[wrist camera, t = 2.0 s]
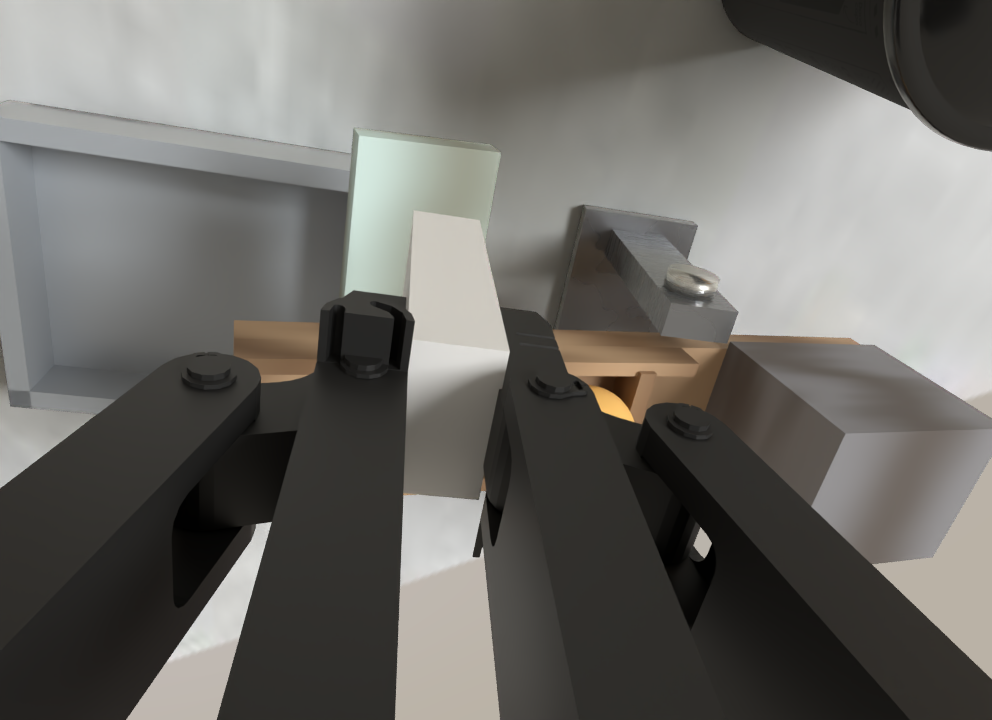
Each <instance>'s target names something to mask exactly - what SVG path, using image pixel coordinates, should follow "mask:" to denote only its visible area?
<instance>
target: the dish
mask: <svg viewBox="0 0 992 720" xmlns="http://www.w3.org/2000/svg"><path fill="white" fill-rule="evenodd" d="M350 165H351V154H349V153H343V152H336V151H330V150H323V149H317V148H311V147H304V146H298V145H292V144H285V143H279V142H273V141H266V140H260V139H254V138H247V137H241V136H234V135H228V134H222V133H215V132H209V131H203V130H196V129H190V128H184V127H177V126H171V125H165V124H158V123H152V122H146V121H139V120H133V119H126V118H120V117H114V116H107V115H101V114H95V113H88V112H82V111H76V110H69V109H63V108H57V107H50V106H44V105H38V104H31V103H25V102H18V101H12V100H8V101H5V102H2V103H0V336H1V343H2V350H3V357H4V364H5V372H6V379H7V386H8V393H9V400H10V406H12V407H23V408H34V409H45V410H56V411H67V412H78V413H89V414H98V413H100V412H101V411H102V410H104V409H105V408H106V407H108V406H109V405H110V404H111V403H113V402H114V401H115V400H117V399H118V398H119V397H121V396H122V395H123V394H125V393H126V392H127V391H128V390H130V389H131V388H132V387H134V386H135V385H136V384H138V383H139V382H140V381H141V380H143V379H144V378H145V377H147V376H148V375H149V374H151V373H152V372H153V371H155V370H156V369H157V368H158V367H160V366H161V365H163V364H165V363H166V362H168V361H170V360H172V359H174V358H177V357H181V356H185V355H190V354H193V353H197V352H205V353H207V352H219V353H221V354H227V355H233V342H234V320H244V321H279V322H313V323H320V311H321V308H322V307H323V306H324V305H325V304H326V303H327V302H330V301H332V300H335V299H337V298H339V290H340V279H341V267H342V256H343V245H344V233H345V222H346V211H347V199H348V188H349V176H350Z"/></svg>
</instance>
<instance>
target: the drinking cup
mask: <svg viewBox="0 0 992 720" xmlns="http://www.w3.org/2000/svg"><path fill="white" fill-rule="evenodd" d="M722 2H723V6H724V9H725V11H726V14H727V16H728V18H729V19H730V21H731V22H732V24H733V25H734V26H735V27H736V28H737V29H738V30H739V31H740V32H741V33H742V34H744V35H745V36H747V37H749V38H751V39H753V40H755V41H757V42H759V43H762V44H764V45H766V46H768V47H771V48H773V49H775V50H777V51H780V52H782V53H784V54H786V55H788V56H791V57H793V58H795V59H797V60H800V61H802V62H804V63H806V64H809V65H811V66H813V67H815V68H818V69H820V70H822V71H824V72H827V73H829V74H831V75H833V76H836V77H838V78H840V79H842V80H845V81H847V82H849V83H851V84H854V85H856V86H858V87H860V88H862V89H865V90H867V91H869V92H871V93H874V94H876V95H878V96H880V97H883V98H885V99H887V100H889V101H892V102H894V103H896V104H898V105H901V106H903V107H905V108H907V109H910V110H911V111H912V112H913V114H914V115H915V116H916V117H917V118H918V119H919V120H920V121H921V122H922V123H923V124H924V125H926V126H927V127H928V128H930V129H931V130H932V131H934V132H935V133H937V134H938V135H940V136H942V137H944V138H946V139H948V140H950V141H953V142H955V143H958V144H960V145H963V146H967V147H971V148H974V149H979V150H985V151H992V0H722Z"/></svg>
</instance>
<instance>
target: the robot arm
mask: <svg viewBox="0 0 992 720" xmlns="http://www.w3.org/2000/svg"><path fill="white" fill-rule="evenodd" d="M483 477H485V485H486V496H485V501H484V505H483V510H482V515H481V519H480V524H479V529H478V533H477V538H476V543H475V547H474V552H473V557H480V553H481V549H482V547H483V549H484V560H485V570H486V580H487V589H488V600H489V609H490V620H491V630H492V639H493V651H494V661H495V671H496V680H497V691H498V701H499V711H500V720H992V679H991V678H990V677H989V676H988V675H987V674H986V673H984V672H983V671H982V670H981V669H980V668H979V667H978V666H977V665H976V664H975V663H974V662H973V661H972V660H971V659H970V658H969V657H968V656H967V655H966V654H965V653H964V652H963V651H961V650H960V649H959V648H958V647H957V646H956V645H955V644H954V643H953V642H952V641H951V640H950V639H949V638H948V637H947V636H946V635H945V634H944V633H943V632H942V631H941V630H940V629H939V628H938V627H937V626H935V625H934V624H933V623H932V622H931V621H930V620H929V619H928V618H927V617H926V616H925V615H924V614H923V613H922V612H921V611H920V610H919V609H918V608H917V607H916V606H915V605H914V604H912V603H911V602H910V601H909V600H908V599H907V598H906V597H905V596H904V595H903V594H902V593H901V592H900V591H899V590H898V589H897V588H896V587H895V586H894V585H893V584H892V583H891V582H890V581H888V580H887V579H886V578H885V577H884V576H883V575H882V574H881V573H880V572H879V571H878V570H877V569H876V568H875V567H874V566H873V565H872V564H871V563H870V562H869V561H868V560H867V559H866V558H864V557H863V556H862V555H861V554H860V553H859V552H858V551H857V550H856V549H855V548H854V547H853V546H852V545H851V544H850V543H849V542H848V541H847V540H846V539H845V538H844V537H843V536H841V535H840V534H839V533H838V532H837V531H836V530H835V529H834V528H833V527H832V526H831V525H830V524H829V523H828V522H827V521H826V520H825V519H824V518H823V517H822V516H821V515H820V514H819V513H817V512H816V511H815V510H814V509H813V508H812V507H811V506H810V505H809V504H808V503H807V502H806V501H805V500H804V499H803V498H802V497H801V496H800V495H799V494H798V493H797V492H796V491H795V490H793V489H792V488H791V487H790V486H789V485H788V484H787V483H786V482H785V481H784V480H783V479H782V478H781V477H780V476H779V475H778V474H777V473H776V472H775V471H774V470H773V469H772V468H770V467H769V466H768V465H767V464H766V463H765V462H764V461H763V460H762V459H761V458H760V457H759V456H758V455H757V454H756V453H755V452H754V451H753V450H752V449H751V448H750V447H749V446H748V445H746V444H745V443H744V442H743V441H742V440H741V439H740V438H739V437H738V436H737V435H736V434H735V433H734V432H733V431H732V430H731V429H730V428H729V427H728V426H727V425H726V424H724V423H723V422H722V421H720V420H719V419H717V418H716V417H715V416H713V415H711V414H709V413H707V412H705V411H703V410H702V409H701V408H699V407H696V406H693V405H691V406H689V404H685V403H668V402H665V403H659V404H654V405H652V406H651V407H650V408H648V409H647V410H646V413H645V417H644V420H643V423H642V424H639V423H636V422H633V421H629V420H626V419H622V418H619V417H616V416H613V415H610V414H607V413H604V412H602V411H601V409H600V406H599V404H598V402H597V399H596V397H595V394H594V392H593V391H592V389H591V388H590V387H589V385H588V384H587V383H585V382H584V381H582V380H581V379H579V378H578V377H576V376H574V375H571V374H569V373H568V372H567V369H566V366H565V363H564V361H563V358H562V355H561V352H560V350H559V347H558V344H557V341H556V340H555V336H554V333H553V330H552V328H551V325H550V324H549V323H548V322H547V321H546V320H544V319H543V318H542V317H541V316H540V315H539V314H538V313H536V312H531V311H523V310H516V309H508V308H501V307H500V306H499V302H498V298H497V293H496V289H495V285H494V280H493V276H492V271H491V267H490V263H489V258H488V254H487V250H486V245H485V241H484V236H483V232H482V228H481V223H480V220H475V219H469V218H462V217H456V216H449V215H442V214H436V213H429V212H422V211H416V210H414V211H413V219H412V227H411V234H410V242H409V250H408V257H407V265H406V273H405V280H404V288H403V296H394V295H387V294H379V293H371V292H364V291H356V290H353V291H352V292H350V293H349V294H347V295H346V296H344V297H343V298H337V299H335V300H332V301H330V302H327V303H326V304H325V305H324V306H323V307H322V308H321V311H320V324H319V337H318V350H317V362H316V365H315V369H314V372H313V373H311V374H309V375H307V376H305V377H302V378H298V379H295V380H290V381H282V382H271V383H261V376H260V373H259V370H258V368H257V367H256V366H254V365H253V364H252V363H250V362H249V361H247V360H245V359H242V358H239V357H236V356H233V355H227V354H221V353H219V352H207V353H205V352H197V353H193V354H190V355H185V356H181V357H177V358H174V359H172V360H170V361H168V362H166V363H165V364H163V365H161V366H160V367H158V368H157V369H156V370H155V371H153V372H152V373H151V374H149V375H148V376H147V377H145V378H144V379H143V380H141V381H140V382H139V383H138V384H136V385H135V386H134V387H132V388H131V389H130V390H128V391H127V392H126V393H125V394H123V395H122V396H121V397H119V398H118V399H117V400H115V401H114V402H113V403H111V404H110V405H109V406H108V407H106V408H105V409H104V410H102V411H101V412H100V413H98V414H97V415H96V416H94V417H93V418H92V419H91V420H89V421H88V422H87V423H85V424H84V425H83V426H81V427H80V428H79V429H77V430H76V431H75V432H74V433H72V434H71V435H70V436H68V437H67V438H66V439H64V440H63V441H62V442H60V443H59V444H58V445H57V446H55V447H54V448H53V449H51V450H50V451H49V452H47V453H46V454H45V455H44V456H42V457H41V458H40V459H38V460H37V461H36V462H34V463H33V464H32V465H30V466H29V467H28V468H27V469H25V470H24V471H23V472H21V473H20V474H19V475H17V476H16V477H15V478H13V479H12V480H11V481H10V482H8V483H7V484H6V485H4V486H3V487H2V488H0V720H126V719H127V717H128V716H129V715H130V713H131V712H132V710H133V709H134V707H135V706H136V705H137V703H138V702H139V700H140V699H141V697H142V696H143V695H144V693H145V692H146V690H147V689H148V687H149V686H150V685H151V683H152V682H153V680H154V679H155V677H156V676H157V674H158V673H159V672H160V670H161V669H162V667H163V666H164V665H165V663H166V662H167V660H168V659H169V657H170V656H171V654H172V653H173V652H174V650H175V649H176V647H177V646H178V644H179V643H180V642H181V640H182V639H183V637H184V636H185V634H186V633H187V631H188V630H189V629H190V627H191V626H192V624H193V623H194V621H195V620H196V619H197V617H198V616H199V614H200V613H201V611H202V610H203V609H204V607H205V606H206V604H207V603H208V601H209V600H210V598H211V597H212V596H213V594H214V593H215V591H216V590H217V588H218V587H219V586H220V584H221V583H222V581H223V580H224V578H225V577H226V575H227V574H228V573H229V571H230V570H231V568H232V567H233V565H234V564H235V563H236V561H237V560H238V558H239V557H240V555H241V554H242V552H243V551H244V550H245V548H246V547H247V545H248V544H249V542H250V541H251V539H252V537H253V534H254V531H255V529H256V524H260V523H267V522H272V523H271V527H270V531H269V534H268V538H267V541H266V545H265V549H264V552H263V556H262V559H261V563H260V567H259V570H258V574H257V577H256V581H255V584H254V588H253V592H252V595H251V599H250V602H249V606H248V610H247V613H246V617H245V620H244V624H243V628H242V631H241V635H240V638H239V642H238V646H237V649H236V653H235V657H234V660H233V663H232V667H231V671H230V675H229V678H228V682H227V685H226V689H225V692H224V696H223V699H222V703H221V707H220V710H219V714H218V717H217V720H395V700H396V673H397V647H398V620H399V593H400V568H401V542H402V515H403V493H408V494H419V495H430V496H442V497H453V498H464V499H476V500H479V496H480V491H481V487H482V482H483ZM700 527H701V528H702V529H703V530H704V532H705V533H706V534H707V536H708V537H709V539H710V540H711V542H712V545H711V547H710V550H709V552H708V554H707V556H706V557H705V559H704V558H703V557H702V556H701V555H700V554H699V553H698V551H697V550H696V549H695V547H694V546H693V545H694V542H695V539H696V537H697V534H698V532H699V529H700Z"/></svg>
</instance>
